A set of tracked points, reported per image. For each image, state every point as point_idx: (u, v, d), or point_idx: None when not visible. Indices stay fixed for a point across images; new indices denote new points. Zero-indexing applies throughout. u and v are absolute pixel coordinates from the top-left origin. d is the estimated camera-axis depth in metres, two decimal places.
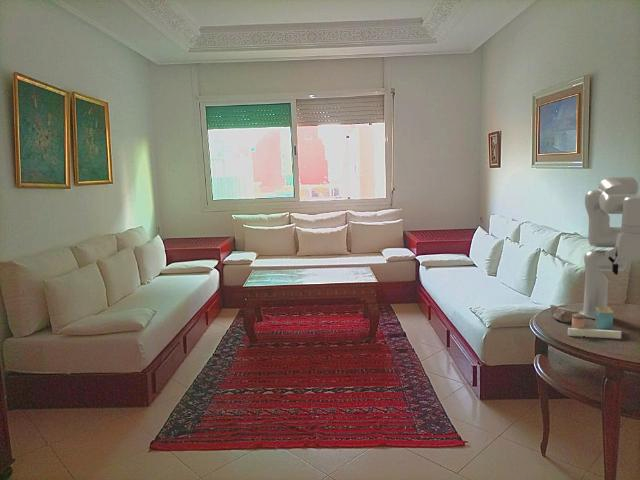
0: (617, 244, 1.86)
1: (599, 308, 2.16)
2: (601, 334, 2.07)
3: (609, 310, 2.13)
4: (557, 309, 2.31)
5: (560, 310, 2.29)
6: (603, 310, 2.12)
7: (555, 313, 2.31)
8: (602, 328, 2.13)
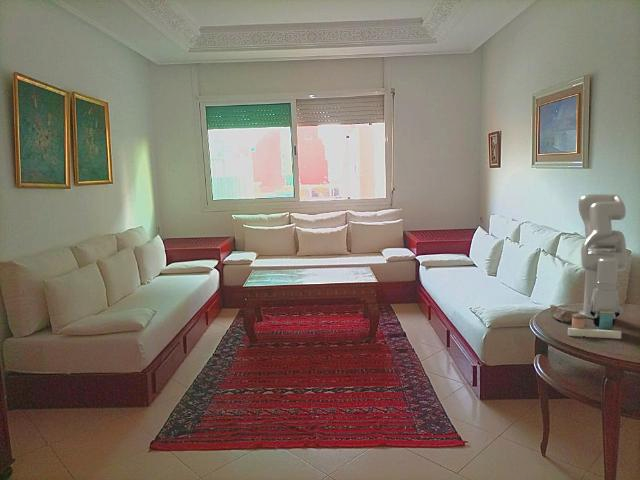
0: (593, 298, 2.15)
1: None
2: (601, 334, 2.07)
3: None
4: (557, 309, 2.31)
5: (560, 310, 2.29)
6: (603, 310, 2.12)
7: (555, 313, 2.32)
8: (602, 328, 2.13)
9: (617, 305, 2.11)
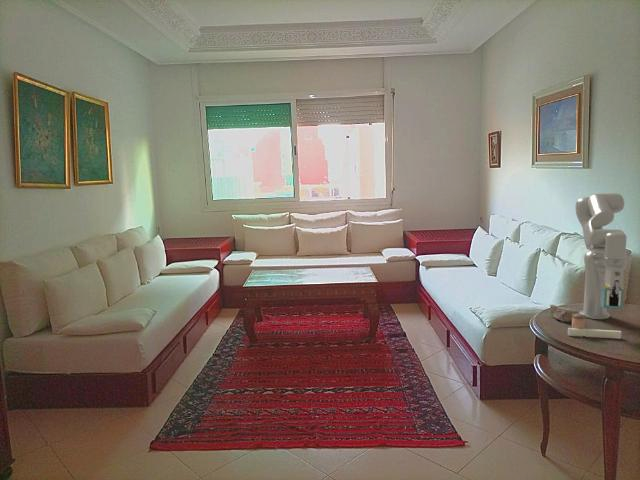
0: None
1: None
2: (601, 334, 2.07)
3: None
4: (557, 309, 2.31)
5: (560, 310, 2.29)
6: (605, 284, 2.09)
7: (555, 313, 2.32)
8: (601, 302, 2.10)
9: (610, 282, 2.03)
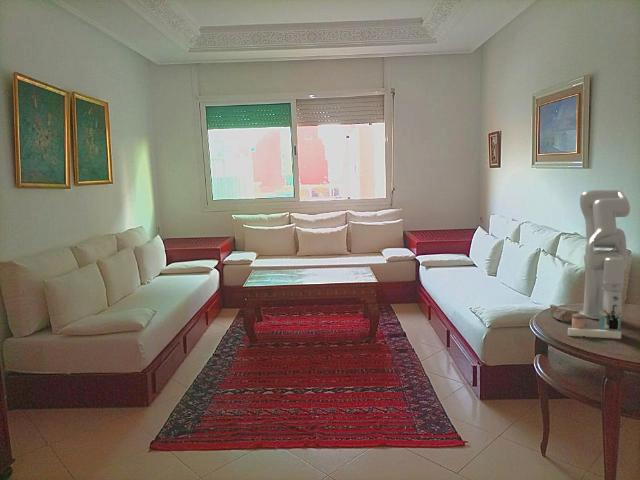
0: None
1: None
2: (601, 334, 2.07)
3: (606, 313, 2.08)
4: (557, 309, 2.31)
5: (560, 310, 2.29)
6: (603, 311, 2.11)
7: (555, 313, 2.32)
8: (599, 328, 2.13)
9: (608, 306, 2.05)
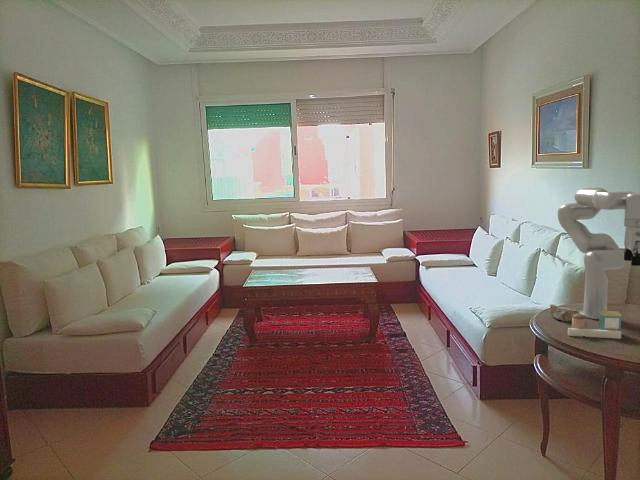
0: None
1: (610, 311, 2.11)
2: (601, 334, 2.07)
3: (606, 313, 2.08)
4: (557, 309, 2.31)
5: (560, 310, 2.29)
6: (603, 311, 2.11)
7: (555, 313, 2.32)
8: (599, 328, 2.13)
9: (631, 243, 2.03)
